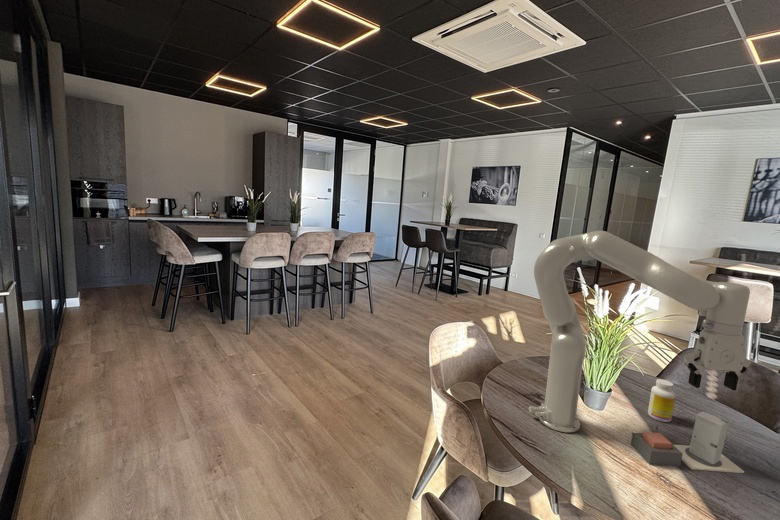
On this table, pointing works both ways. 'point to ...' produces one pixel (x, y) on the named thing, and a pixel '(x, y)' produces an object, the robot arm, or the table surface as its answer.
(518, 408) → the table surface
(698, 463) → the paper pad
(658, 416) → the supplement bottle
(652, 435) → the button
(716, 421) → the skincare box
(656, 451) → the button housing
